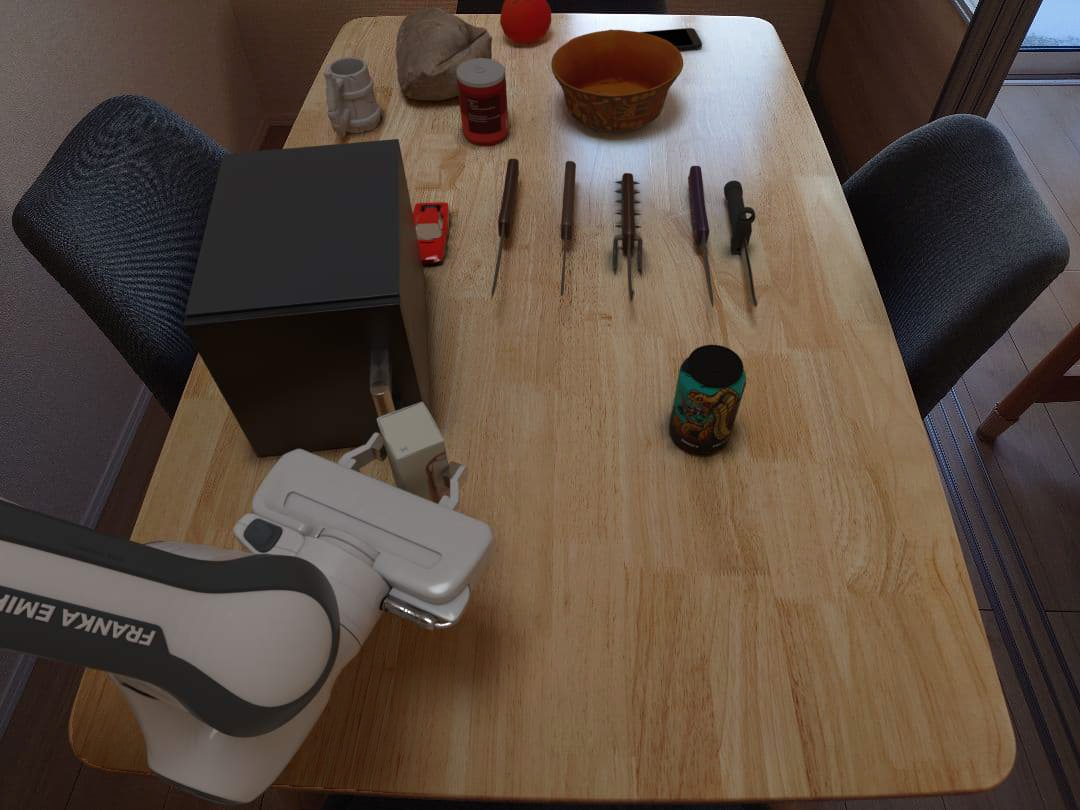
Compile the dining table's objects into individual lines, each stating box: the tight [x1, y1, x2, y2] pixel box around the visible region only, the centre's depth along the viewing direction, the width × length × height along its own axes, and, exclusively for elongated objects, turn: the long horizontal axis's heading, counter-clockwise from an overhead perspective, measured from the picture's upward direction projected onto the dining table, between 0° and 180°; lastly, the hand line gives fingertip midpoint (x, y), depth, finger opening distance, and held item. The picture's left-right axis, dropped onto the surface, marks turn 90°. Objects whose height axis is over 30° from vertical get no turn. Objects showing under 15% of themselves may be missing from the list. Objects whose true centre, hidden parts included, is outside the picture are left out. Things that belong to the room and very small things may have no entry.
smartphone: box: [641, 27, 703, 51], centre depth 143 cm, size 7×15×1 cm, turn 97°
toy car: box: [412, 201, 451, 266], centre depth 109 cm, size 12×5×3 cm, turn 1°
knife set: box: [490, 158, 758, 308], centre depth 104 cm, size 35×33×8 cm
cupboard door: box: [183, 297, 425, 458], centre depth 78 cm, size 7×20×22 cm, turn 97°
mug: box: [323, 56, 382, 138], centre depth 124 cm, size 8×12×12 cm, turn 163°
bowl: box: [550, 29, 684, 132], centre depth 125 cm, size 21×21×10 cm
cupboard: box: [184, 138, 431, 413], centre depth 88 cm, size 26×20×22 cm
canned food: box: [456, 58, 509, 147], centre depth 122 cm, size 8×8×11 cm
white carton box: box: [377, 402, 450, 504], centre depth 66 cm, size 5×4×10 cm
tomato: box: [499, 0, 552, 44], centre depth 143 cm, size 9×10×8 cm
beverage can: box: [668, 344, 747, 455], centre depth 83 cm, size 7×7×12 cm
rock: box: [395, 6, 493, 102], centre depth 132 cm, size 16×17×15 cm
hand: (421, 452), depth 67 cm, fingers closed on white carton box, 6 cm apart
